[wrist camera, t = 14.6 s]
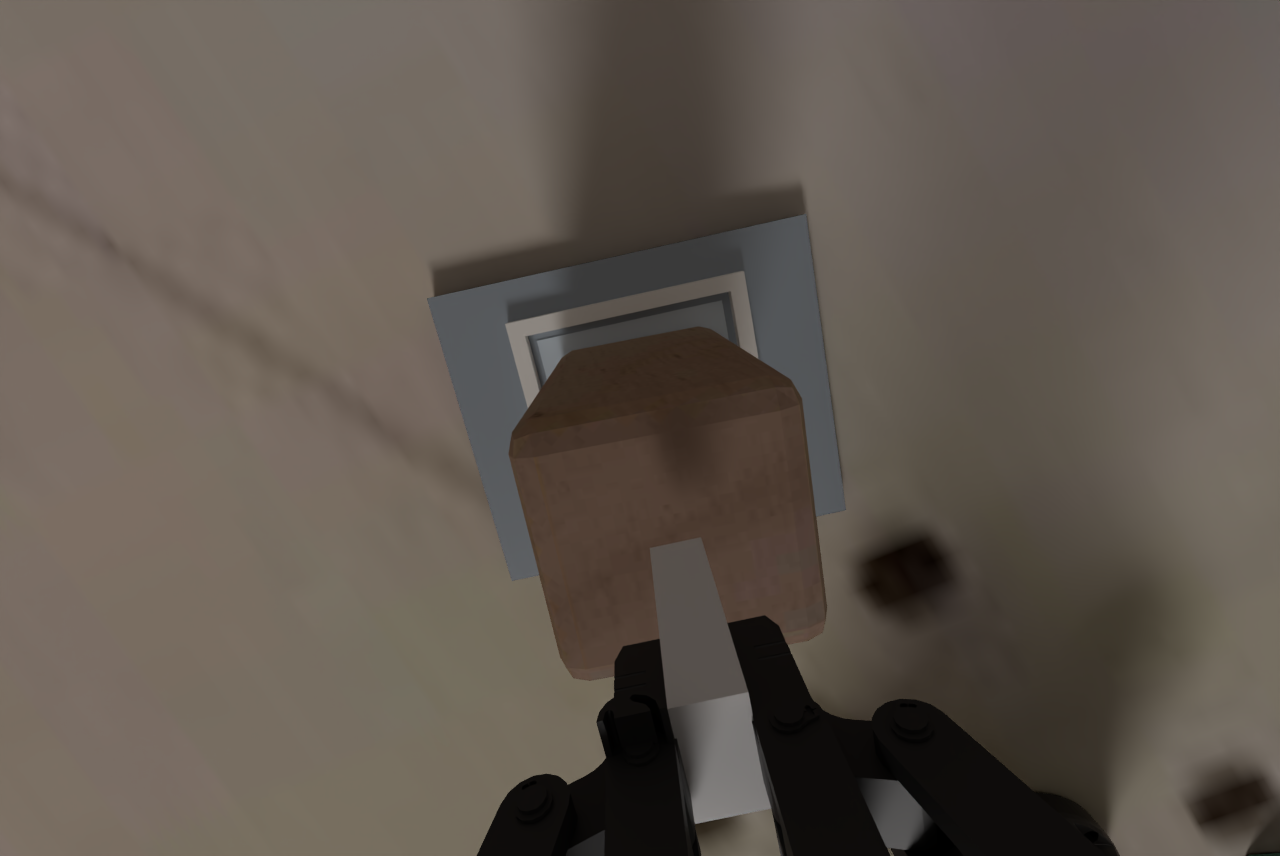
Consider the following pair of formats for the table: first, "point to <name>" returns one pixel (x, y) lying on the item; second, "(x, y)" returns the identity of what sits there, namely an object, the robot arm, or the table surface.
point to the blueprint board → (627, 309)
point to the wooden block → (666, 489)
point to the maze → (1272, 855)
